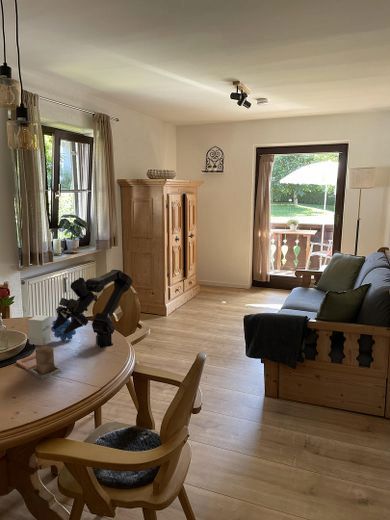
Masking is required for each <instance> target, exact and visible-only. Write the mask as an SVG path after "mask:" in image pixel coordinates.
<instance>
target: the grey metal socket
mask: <svg viewBox="0 0 390 520" xmlns="http://www.w3.org/2000/svg"><path fill="white" fill-rule="evenodd" d="M54 370H55V371H52V372H49V373H47V374H44V375H40V374H39V373H37V367H36V368H34V369H31V370H29V372H30V373H31V374H32V375H34V376H35V377H37V378H39V379H40V380H43V379H45V378H47V377H50V376H53V375H57V374H59V373H61V372H62V368H60V367H58V365H57V366H56V364H54Z"/></svg>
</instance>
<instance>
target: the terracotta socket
mask: <svg viewBox="0 0 390 520" xmlns="http://www.w3.org/2000/svg"><path fill="white" fill-rule="evenodd" d="M32 359H36V354H33V355H30V356H26V357H24V358H21V359H18V360H16V364H17V363H18V364H17V365H19V366H20V367H21V368H24V369H25V370H26V371H29V372H30V370H31V369H34V368H36V367H37V366H36V364H34V365H31V366H30V365H29V366H28V365H26V364H25V363H24V362H27V361H30V360H32Z"/></svg>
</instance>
